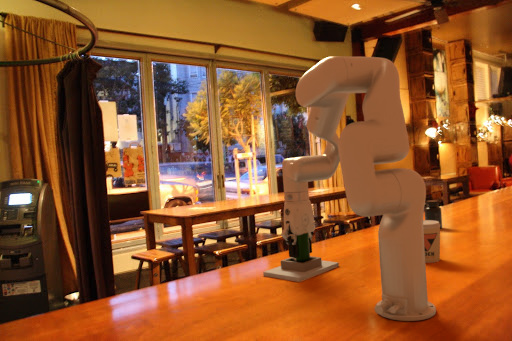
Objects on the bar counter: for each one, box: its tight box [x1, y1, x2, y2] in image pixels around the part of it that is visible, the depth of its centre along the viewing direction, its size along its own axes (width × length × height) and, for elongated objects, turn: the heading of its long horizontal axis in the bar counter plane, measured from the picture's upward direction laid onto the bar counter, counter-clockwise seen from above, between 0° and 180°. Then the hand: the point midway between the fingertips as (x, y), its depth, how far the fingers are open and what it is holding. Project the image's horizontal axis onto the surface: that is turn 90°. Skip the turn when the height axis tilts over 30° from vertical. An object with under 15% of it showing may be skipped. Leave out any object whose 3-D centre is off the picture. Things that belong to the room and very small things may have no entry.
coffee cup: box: [423, 219, 441, 264], centre depth 143 cm, size 9×9×12 cm
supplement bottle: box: [424, 199, 443, 230], centre depth 196 cm, size 7×7×12 cm
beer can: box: [291, 229, 311, 263], centre depth 140 cm, size 5×5×12 cm
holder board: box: [262, 255, 340, 283], centre depth 141 cm, size 20×14×4 cm
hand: (300, 254), depth 141 cm, fingers open, 6 cm apart
